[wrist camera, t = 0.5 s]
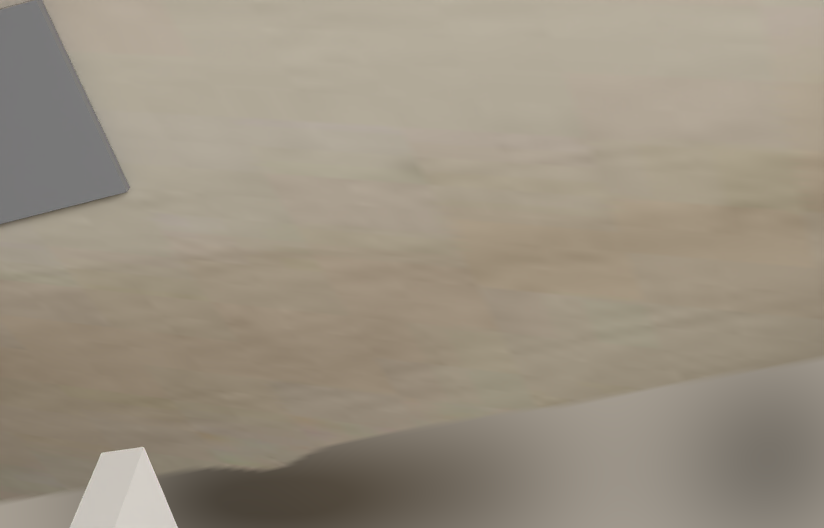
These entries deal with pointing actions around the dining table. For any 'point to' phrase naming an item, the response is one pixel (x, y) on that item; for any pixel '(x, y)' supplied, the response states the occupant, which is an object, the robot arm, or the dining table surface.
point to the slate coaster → (47, 123)
